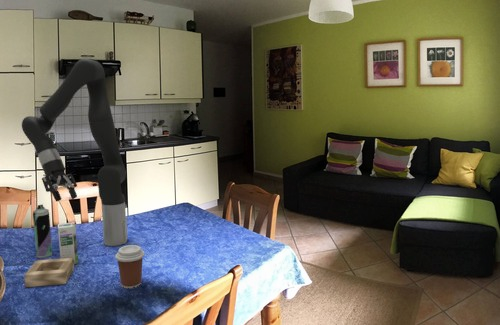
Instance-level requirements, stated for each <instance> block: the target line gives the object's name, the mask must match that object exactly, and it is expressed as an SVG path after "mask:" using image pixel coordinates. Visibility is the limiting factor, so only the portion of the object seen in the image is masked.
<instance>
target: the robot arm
mask: <svg viewBox="0 0 500 325" xmlns="http://www.w3.org/2000/svg"><path fill="white" fill-rule="evenodd" d="M85 85H86V88H87V92H88V96H89V98H88V99H89V102H88V111H87V118H88V119H87V120H88V124H89V129H90V132H91V136H92V137H93V140H94V141H95V143H96V145H97V146H98V148H99V149H100V152H101V155H102V159H103V165H104V166H102V167H101V168H100V169H99V171H98V173H97V187H98V196H99V199H100V201H101V202H100V203H101V215H102V216H101V217H102V218H101V219H102V232H103V233H102V236H103V245H105V246H108V247H116V246H121V245H124V244H125V245H126V244H127V242H128V239H129V238H128V222H127V221H128V220H127V215H126V212H127V211H126V198H125V195H124V194H123V192H122V184H123V183H124V181H125V179H126V177H127V171H126V167H125V164H124V162H123V158H122V156H121V152H120V147H119V142H118V138H117V133H116V127H115V122H114V118H113V113H112V110H111V105H110V101H109V97H108V92H107V83H106V74H105V70H104V67H103V65H102V64H101V63H100V62H99V61H97V60H94V59H91V58H89V59H88V58H82V59H79V60H78V61H77V62H76V63H75V64H74V66H72V68H71V69H70V71H69V73H68V75H67V76H66V78H64V80H63V82H62V83H61V84H60V86H59V87H58V88H57V89H56V90H55V92H54V93H52V95H50V97H49V98H48V99H47V100H46V101H45V102H44V103H43V104H42V105H41V106H40V108H39V112H40V114H41V115H40V116H39V117H37V116H33V115H32V116H30V115H28V116H25V117H24V118H23V119H22V122H21V129H22V132H23V133H24V135H25V137H26V138H27V139H28V140H29V142H30V143H31V144H32V145H33V147H34V150H35V151H36V155H37V156H38V160H39V163H40V166H41V168H42V170H43V172H44V175H45V176H43V177H41V182H42V183H43V187H44V188H45V192H46V193H51V194H52V196H53V198H54V200H55V202H60V201H61V200H62V197H61V194H60V191H59V189H58V187H63V188H64V189H67V190H68V193H69V196H70V198H71V200H74V199H76V198H78V194H77V192H76V190H75V188H77V187H78V183H77V181H76V180H75V178H74V176H73V174H72V173H69V174H66V172H65V171H66V167H65V165H64V162H63V161H62V158H61V155H60V153H59V152H58V150H57V148H56V146H55V143H54V141H53V139H52V138H51V137H49V136H47V135H46V134H47V133H49V132H50V131H51V129H52V127H53V126H54V124H55V122H56V120H57V119H58V117H59V116H60V115H62V113H63V112H64V111H66V109H67V108H68V107H69V105H70V103H71V102H72V99H73V98H74V96H75V95H76V93H77V92H78V91H79V90H81V89H82V88H83V87H84V86H85Z"/></svg>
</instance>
